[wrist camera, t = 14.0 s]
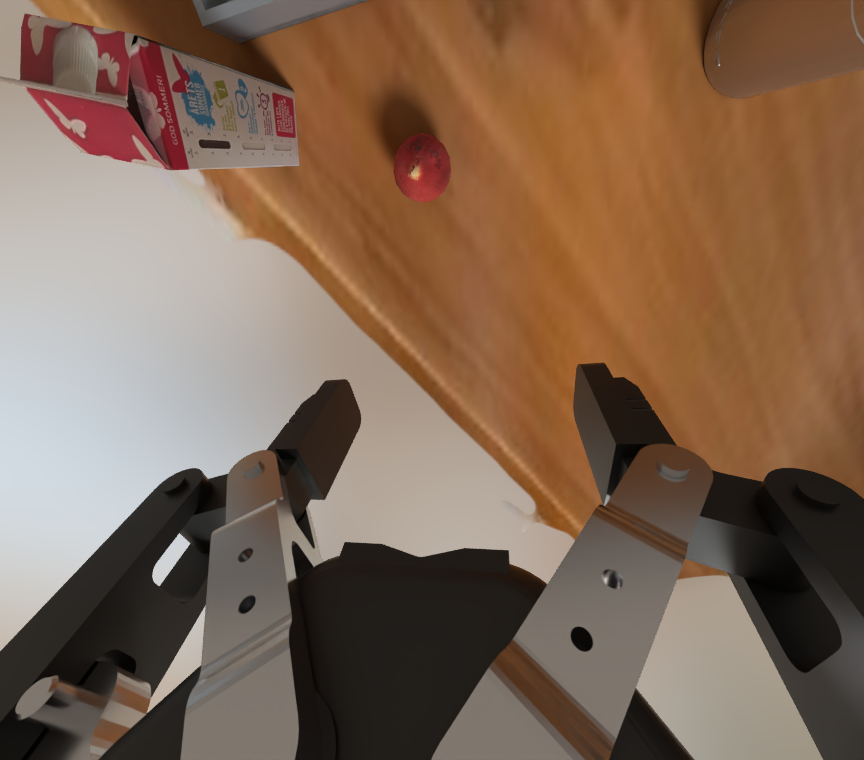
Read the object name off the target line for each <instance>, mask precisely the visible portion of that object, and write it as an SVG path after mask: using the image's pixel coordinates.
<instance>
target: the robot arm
mask: <svg viewBox="0 0 864 760" xmlns="http://www.w3.org/2000/svg"><path fill="white" fill-rule="evenodd" d="M704 67H705V71H706V74H707V77H708V80H709V82H710V83H711V84H712V86H713V87H714V89H716V90H717V91H718V92H720V93H721V94H723V95H726V96H729V97H732V98H745V97H749V96H754V95H758V94H763V93H767V92H771V91H776V90H780V89H785V88H789V87H793V86H798V85H802V84H806V83H810V82H814V81H818V80H822V79H827V78H831V77H835V76H839V75H843V74H847V73H852V72H856V71H860V70H864V0H722V1H721V3H720V4H719V6H718V8H717V10H716V12H715V14H714V17H713V19H712V21H711V23H710V27H709V30H708V33H707V37H706V41H705V49H704ZM573 406H574V417H575V421H576V424H577V427H578V430H579V433H580V436H581V439H582V442H583V445H584V448H585V451H586V454H587V457H588V460H589V463H590V466H591V469H592V472H593V475H594V478H595V481H596V484H597V487H598V490H599V493H600V496H601V499H602V502H603V505H604V506H603V505H599V506H598V507H597V508H596V509H595V511H594V512H593V514H592V515H591V517H590V518H589V520H588V521H587V523H586V525H585V526H584V528H583V529H582V531H581V533H580V534H579V536H578V537H577V539H576V540H575V542H574V544H573V545H572V547H571V548H570V550H569V552H568V553H567V555H566V556H565V558H564V559H563V561H562V562H561V564H560V566H559V567H558V569H557V570H556V572H555V574H554V575H553V577H552V578H551V580H550V581H549V583H548V585H547V584H546V583H545V582H544V581H542V580H541V579H540V578H538V577H536V576H535V575H533V574H532V573H530V572H528V571H526V570H524V569H522V568H519V567H517V566H514V565H511V564H509V551H508V550H489V549H469V548H464V549H459V550H454V551H450V552H445V553H440V554H436V555H430V556H426V557H417V556H414V555H411V554H408V553H406V552H403V551H400V550H397V549H394V548H391V547H389V546H386V545H383V544H370V543H351V542H345V543H344V546H343V548H342V551H341V554H340V556H337V557H334V558H331V559H328V560H326V561H324V562H323V559H322V556H321V553H320V549H319V545H318V541H317V537H316V533H315V529H314V525H313V521H312V517H311V513H310V510H309V508H308V507H307V505H308V503H309V502H310V500H311V499H316V500H325V498H326V496H327V494H328V492H329V490H330V488H331V486H332V484H333V482H334V480H335V478H336V475H337V473H338V471H339V469H340V467H341V465H342V463H343V461H344V459H345V457H346V455H347V453H348V451H349V448H350V446H351V444H352V442H353V440H354V438H355V436H356V434H357V432H358V430H359V428H360V424H361V414H360V410H359V407H358V405H357V402H356V399H355V397H354V394H353V391H352V389H351V386H350V384H349V382H348V381H347V380H345V379H343V380H329V381H325V382H324V383H323V384H322V386H321V387H320V389H319V390H318V391H317V392H316V394H314V395H312V396H311V397H310V398H308V399H307V400H306V401H304V402H303V403H302V404H301V405H300V407H299V408H298V409H297V411H296V412H295V415H293V416H292V417H291V419H290V420H289V423H287V424H286V425H285V426H284V428H283V429H282V430H281V432H280V433H279V434H278V436H277V437H276V438H275V440H274V441H273V442H272V443H271V445H270V446H269V447H268V449H267V450H262V451H258V452H254V453H252V454H250V455H248V456H246V457H244V458H243V459H241V460H240V461H239V462H238V463H237V464H235V465H234V466H233V468H232V469H231V470H230V472H229V474H226V475H222V476H218V477H214V478H211V479H208V478H207V477H206V476H205V475H204V474H203V472H202V471H201V470H200V469H196V468H192V469H187V470H183V471H181V472H178V473H176V474H174V475H173V476H171V477H169V478H168V479H166V480H165V481H163V482H162V483H161V484H160V485H159V486H158V487H157V488H156V489H155V490H154V491H153V492H152V493H151V494H150V495H149V496H148V497H147V498H146V499H145V500H144V502H142V503H141V505H139V507H138V508H137V509H136V510H135V511H134V512H133V513H132V514H131V515H130V516H129V517H128V518H127V519H126V520H125V521H124V522H123V523H122V524H121V526H120V527H119V528H118V529H117V530H116V531H115V532H114V533H113V534H112V535H111V536H110V537H109V538H108V539H107V540H106V541H105V542H104V543H103V544H102V545H101V546H100V547H99V549H98V550H97V551H96V552H95V553H94V554H93V555H92V556H91V557H90V558H89V559H88V560H87V561H86V562H85V563H84V564H83V565H82V566H81V567H80V568H79V570H78V571H77V572H76V573H75V574H74V575H73V576H72V577H71V578H70V579H69V580H68V581H67V582H66V583H65V584H64V585H63V586H62V587H61V588H60V589H59V590H58V592H57V593H56V594H55V595H54V596H53V597H52V598H51V599H50V600H49V601H48V602H47V603H46V604H45V605H44V606H43V607H42V608H41V609H40V611H38V613H37V614H36V615H35V616H34V617H33V618H32V619H31V620H30V621H29V622H28V623H27V624H26V625H25V626H24V627H23V628H22V629H21V630H20V631H19V632H18V633H17V635H16V636H15V637H14V638H13V639H12V640H11V641H10V642H9V643H8V644H7V645H6V646H5V647H4V648H3V649H2V650H1V651H0V760H694V759H693V757H692V756H691V755H690V754H689V753H688V751H687V750H686V749H685V748H684V746H683V745H682V744H681V743H680V742H679V740H678V739H677V738H676V737H675V735H674V734H673V733H672V732H671V731H670V729H669V728H668V727H667V726H666V724H665V723H664V722H663V721H662V719H661V718H660V717H659V716H658V715H657V713H656V712H655V711H654V710H653V708H652V707H651V706H650V705H649V704H648V702H647V701H646V700H645V699H644V697H643V696H642V695H641V694H640V693H639V692H638V690H637V689H636V686H637V683H638V680H639V678H640V675H641V673H642V670H643V667H644V664H645V662H646V659H647V657H648V654H649V651H650V649H651V646H652V644H653V641H654V638H655V635H656V633H657V630H658V628H659V625H660V623H661V620H662V617H663V615H664V612H665V609H666V607H667V604H668V601H669V599H670V596H671V594H672V591H673V588H674V586H675V583H676V581H677V578H678V575H679V573H680V570H681V567H682V565H683V562H684V559H688V560H691V561H694V562H697V563H701V564H704V565H707V566H710V567H713V568H716V569H719V570H722V571H725V572H727V573H728V575H729V577H730V578H731V581H732V583H733V584H734V587H735V588H736V590H737V592H738V594H739V596H740V598H741V600H742V602H743V604H744V606H745V608H746V610H747V612H748V614H749V616H750V618H751V620H752V622H753V624H754V625H755V627H756V629H757V631H758V633H759V635H760V637H761V639H762V641H763V643H764V645H765V647H766V649H767V651H768V653H769V655H770V657H771V658H772V661H773V662H774V664H775V666H776V668H777V670H778V672H779V674H780V676H781V678H782V680H783V682H784V684H785V686H786V688H787V690H788V692H789V694H790V696H791V697H792V699H793V701H794V703H795V705H796V707H797V709H798V711H799V713H800V715H801V717H802V718H803V721H804V723H805V725H806V727H807V729H808V731H809V733H810V734H811V737H812V738H813V740H814V742H815V744H816V746H817V748H818V750H819V752H820V754H821V756H822V758H823V760H864V499H863V498H862V497H861V496H859V495H858V494H857V493H856V492H854V491H853V490H852V489H850V488H848V487H847V486H845V485H843V484H842V483H840V482H838V481H836V480H834V479H831V478H829V477H827V476H824V475H821V474H818V473H815V472H812V471H808V470H803V469H796V468H781V469H776V470H773V471H771V472H770V473H768V474H767V476H766V477H765V479H764V481H763V482H761V481H756V480H752V479H747V478H742V477H737V476H733V475H728V474H724V473H720V472H716V471H713V470H711V468H710V467H709V465H708V464H707V463H706V462H705V461H704V460H703V459H702V458H701V457H699V456H698V455H696V454H695V453H693V452H691V451H689V450H687V449H684V448H682V447H679V446H677V445H676V444H675V442H674V441H673V439H672V438H671V436H670V435H669V433H668V432H667V430H666V429H665V427H664V426H663V424H662V423H661V421H660V419H659V418H658V416H657V415H656V413H655V412H654V410H652V407H651V406H650V404H649V403H648V401H647V400H645V397H644V395H643V394H642V392H641V391H640V389H639V388H638V386H636V385H635V384H633V383H632V382H630V381H629V380H627V379H626V378H624V377H620V378H613V376H612V375H611V373H610V371H609V369H608V368H607V366H606V364H605V363H592V364H578V366H577V369H576V380H575V392H574V405H573ZM179 533H180V534H181V535H182V536H183V537H185V539H187V540H188V541H189V542H190V543H191V544H190V545H189V546H188V548H187V549H186V551H185V552H184V553H183V555H182V556H181V558H180V559H179V560H178V562H177V563H176V565H175V566H174V567H173V569H172V570H171V572H170V573H169V574H168V576H167V577H166V578H165V580H164V581H163V582H162V584H161V585H160V587H159V586H158V585H156V584H155V583H154V581H153V578H152V572H153V569H154V566H155V564H156V563H157V561H158V560H159V559H160V557H161V556H162V555H163V553H164V552H165V551H166V549H167V548H168V547H169V546H170V544H171V543H172V542H173V540H174V539H175V538H176V537H177V535H178V534H179ZM205 605H206V610H205V623H204V636H203V650H202V663H201V666H200V667H199V668H197V669H196V670H195V671H194V672H193V673H192V674H191V675H190V676H188V677H187V678H186V679H185V680H184V681H183V682H182V683H181V684H179V685H178V686H177V687H176V688H175V689H174V690H173V691H172V692H171V693H169V694H168V695H167V696H166V697H165V698H164V699H163V700H162V701H161V702H159V703H158V704H157V705H156V706H155V707H154V708H153V709H152V710H151V711H149V712H148V713H146V712H147V710H148V707H149V703H150V699H151V697H152V695H153V694H154V692H155V690H156V688H157V687H158V685H159V683H160V682H161V680H162V678H163V676H164V675H165V673H166V671H167V670H168V668H169V666H170V665H171V663H172V661H173V660H174V658H175V656H176V654H177V653H178V651H179V649H180V648H181V646H182V644H183V643H184V641H185V639H186V637H187V636H188V634H189V632H190V631H191V629H192V627H193V626H194V624H195V622H196V620H197V619H198V617H199V615H200V613H201V612H202V610H203V608H204V607H205Z"/></svg>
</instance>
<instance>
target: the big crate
mask: <svg viewBox="0 0 864 760" xmlns="http://www.w3.org/2000/svg"><path fill="white" fill-rule="evenodd" d="M192 1H193V3H194V6H195V8H196V11H197V13H198V16H199V19H200V21H201V24H202V26H203V27H205V28H207V29H209V30H211V31H213V32H215V33H217V34H220V35H222V36H224V37H226V38H228V39H230V40H232V41H235V42H237V43H242V42H245V41H248V40H251V39H254V38H257V37H260V36H263V35H266V34H269V33H272V32H275V31H278V30H281V29H284V28H287V27H290V26H293V25H296V24H299V23H302V22H305V21H308V20H311V19H314V18H317V17H320V16H323V15H326V14H329V13H332V12H335V11H338V10H341V9H344V8H347V7H350V6H353V5H356V4H358V3H361V2H364V1H367V0H192Z"/></svg>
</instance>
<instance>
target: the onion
mask: <svg viewBox="0 0 864 760" xmlns="http://www.w3.org/2000/svg"><path fill="white" fill-rule="evenodd" d="M450 172H451V166H450V157H449V155H448V153H447V151H446V149H445V147H444V145H443V144H442V143H441V142H440V141H439V140H438V139H437V138H435V137H434V136H433V135H428V134H423V133H419V134H416V135H414V136H411V137H408V138H407V139H406V140H405V141H404V142H403V143H402V144H401V145H400V147H399V148H398V151H397V153H396V156H395V158H394V176H395V180H396V185H397V186H398V187H399V189H400V190H401V192H402V193H403V194H404V195H405V196H407V197H408V198H410V199H412V200H413V201H418V202H427V201H431V200H434V199H436V198H437V197H438V196H439V195H441V194H442V193H443V192H444V190H445V188H446V186H447V184H448V183H449V178H450Z"/></svg>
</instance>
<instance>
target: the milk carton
mask: <svg viewBox="0 0 864 760" xmlns="http://www.w3.org/2000/svg"><path fill="white" fill-rule="evenodd" d="M20 75H21V76H20V77H21V78H20V80H16V79H10V78H5V77H0V81H2V82H6V83H11V84H15V85H19V86H23V87H24V88H25V89H26V91H27V92H28V93H29V94H30V95H31V96H32V98H33V99H34V100H35V101H36V102H37V104H38V105H39V106H40V107H41V108H42V110H43V111H44V112H45V113H46V114H47V115H48V117H49V118H50V119H51V120H52V122H53V123H54V124H55V125H56V126H57V128H58V129H59V130H60V131H61V132H62V133H63V135H64V136H65V137H66V138H67V139H68V141H69V142H71V144H72V145H74V147H76V148H77V149H78V150H79V151H80V152H83V153H87V154H92V155H97V156H103V157H107V158H112V159H117V160H122V161H127V162H132V163H137V164H143V165H147V166H152V167H157V168H162V169H167V170H189V169H221V168H252V167H281V166H299V154H298V140H297V125H296V111H295V97H294V91H293V90H290V89H287V88H285V87H282V86H279V85H276V84H273V83H271V82H268V81H265V80H262V79H259V78H256V77H254V76H251V75H248V74H245V73H242V72H240V71H237V70H234V69H231V68H228V67H225V66H223V65H220V64H217V63H214V62H211V61H208V60H206V59H203V58H200V57H197V56H194V55H192V54H189V53H186V52H183V51H180V50H177V49H175V48H172V47H169V46H166V45H163V44H161V43H158V42H155V41H152V40H149V39H146V38H144V37H141V36H138V35H135V34H131V33H125V32H120V31H115V30H109V29H104V28H99V27H93V26H88V25H83V24H77V23H72V22H67V21H61V20H56V19H51V18H45V17H40V16H35V15H29V14H25V15H24V19H23V23H22V27H21V64H20ZM24 84H25V85H24ZM29 85H30V86H29ZM34 86H35V87H34ZM39 87H40V88H39ZM44 88H45V89H44ZM49 89H50V90H49ZM54 90H55V91H54Z"/></svg>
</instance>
